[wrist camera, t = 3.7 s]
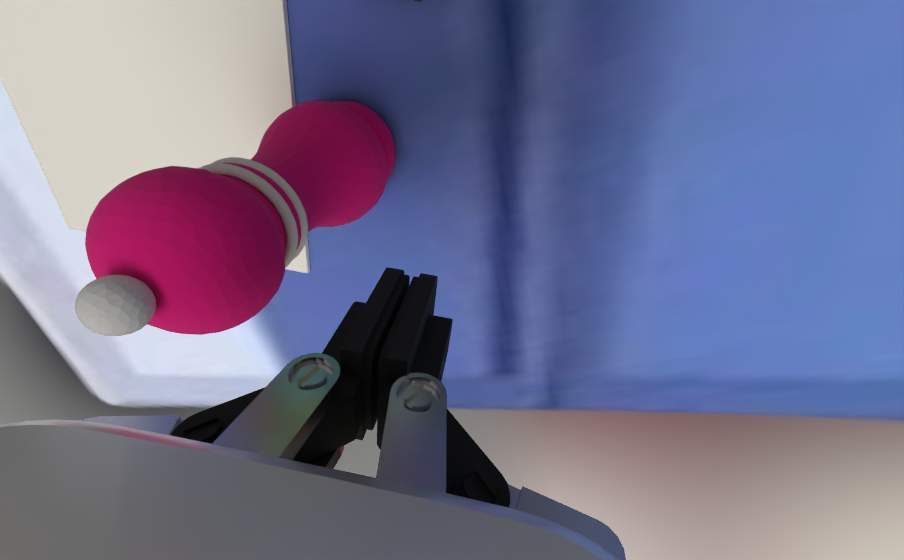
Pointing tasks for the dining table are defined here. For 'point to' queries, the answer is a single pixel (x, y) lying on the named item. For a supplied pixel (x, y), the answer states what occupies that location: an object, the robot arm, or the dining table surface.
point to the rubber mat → (142, 87)
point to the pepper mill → (229, 223)
